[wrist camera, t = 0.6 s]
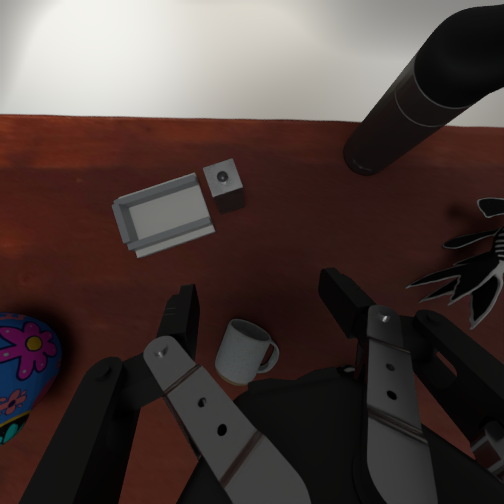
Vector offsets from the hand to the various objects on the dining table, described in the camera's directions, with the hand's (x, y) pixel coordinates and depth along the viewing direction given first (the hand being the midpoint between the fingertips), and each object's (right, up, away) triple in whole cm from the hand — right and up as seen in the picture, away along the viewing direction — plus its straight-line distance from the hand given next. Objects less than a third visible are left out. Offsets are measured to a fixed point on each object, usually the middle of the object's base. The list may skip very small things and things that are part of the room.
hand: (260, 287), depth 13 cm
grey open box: (-17, +9, +26) cm, 32 cm away
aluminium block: (-5, +12, +27) cm, 30 cm away
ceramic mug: (-1, -15, +25) cm, 29 cm away
